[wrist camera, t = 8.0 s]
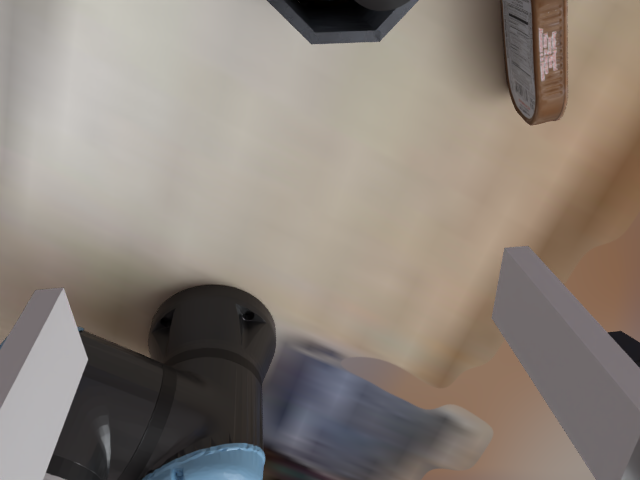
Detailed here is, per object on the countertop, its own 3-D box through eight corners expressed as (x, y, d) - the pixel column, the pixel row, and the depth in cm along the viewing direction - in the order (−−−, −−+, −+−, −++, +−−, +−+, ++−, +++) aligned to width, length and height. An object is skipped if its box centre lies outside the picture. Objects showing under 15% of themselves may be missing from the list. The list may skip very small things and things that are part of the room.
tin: (532, 103, 53) (575, 132, 46) (502, 112, 53) (540, 142, 46) (524, -61, 45) (575, -58, 38) (489, -50, 45) (532, -44, 38)
